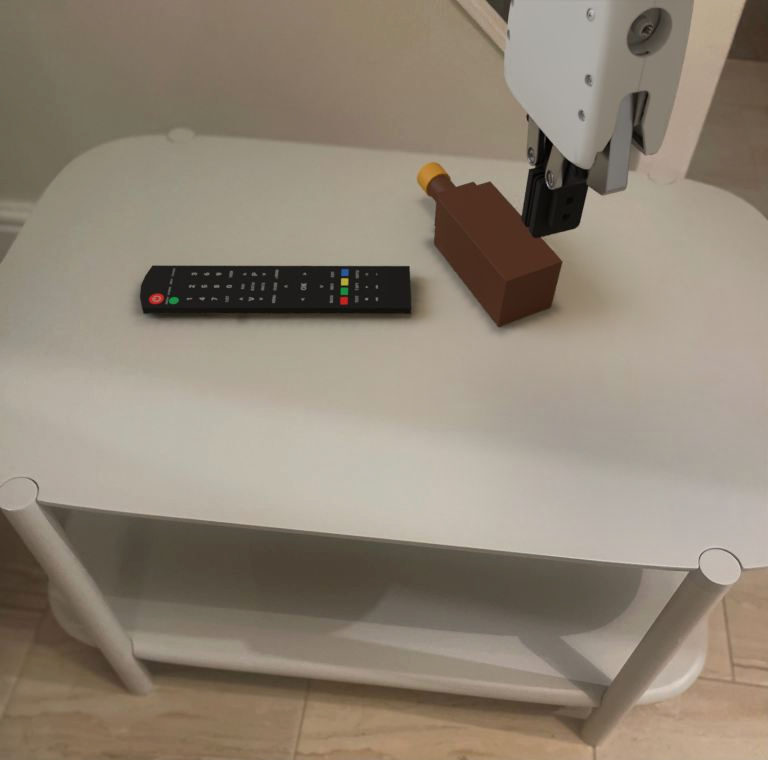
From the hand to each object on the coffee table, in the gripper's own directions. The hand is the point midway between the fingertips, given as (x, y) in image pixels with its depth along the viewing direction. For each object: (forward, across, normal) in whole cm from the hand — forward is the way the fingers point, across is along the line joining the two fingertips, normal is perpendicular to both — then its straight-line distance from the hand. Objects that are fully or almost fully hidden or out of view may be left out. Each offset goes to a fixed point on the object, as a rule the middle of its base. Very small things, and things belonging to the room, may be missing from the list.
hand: (549, 225), depth 49 cm
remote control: (+19, +19, +15) cm, 31 cm away
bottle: (+17, +10, -6) cm, 20 cm away
